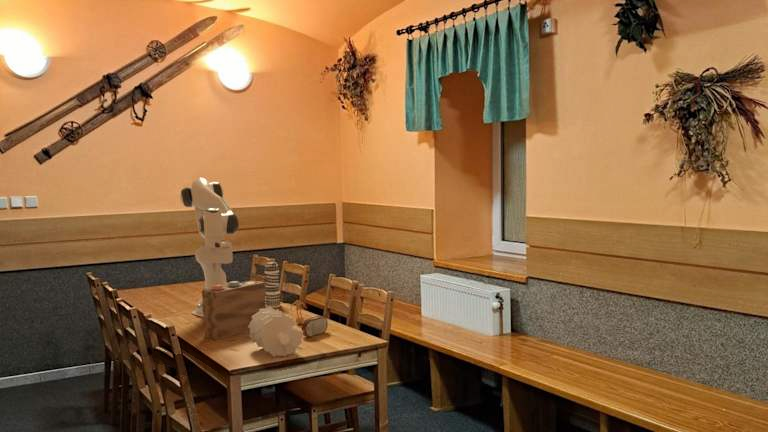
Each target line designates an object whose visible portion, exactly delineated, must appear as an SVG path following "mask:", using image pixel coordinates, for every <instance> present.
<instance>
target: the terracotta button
mask: <svg viewBox="0 0 768 432" xmlns="http://www.w3.org/2000/svg"><path fill="white" fill-rule="evenodd" d="M221 290H223V285H213V286H212V291H221Z"/></svg>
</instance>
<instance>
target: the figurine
mask: <svg viewBox="0 0 768 432" xmlns="http://www.w3.org/2000/svg"><path fill="white" fill-rule="evenodd" d="M301 304H302V305H303V306H304V307H305V309H307V308H308V307H307V306H306V304H305V303H304V302H301V301H300V300H299V299H297V300H296V301H294V302H293V303H292V304H291V306H290V311H292V309H293V306H294V305H296V306H295V311H296V315H297V317H296V318H295V323H296V324H298V325H302V324H303V322H304V321H305V318H304V317H303V316H302V311H303V310H302V306H300V305H301Z"/></svg>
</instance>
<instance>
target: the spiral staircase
mask: <svg viewBox="0 0 768 432" xmlns="http://www.w3.org/2000/svg"><path fill="white" fill-rule="evenodd" d="M251 317H252V321H251V322H250V324H249V326H248V328H250V331H249V338H251V340H252V343H253V344H254V343H256V345H257V347H258V348H263V350H264V352H265V353H266V352H267V353H269V354H270V355H271V356H273V357H274V358H275V357H277V356H279V357H284V358H285V357H287V355H290V354H292V353H295V352H297V348H299V346H300V345H301V344H302V343H303V341H302V339H303V336H304V335H303V331H302V330H300V329H298V328H295V326H296V325H297V323H296V321H295V320H294V318H293V316H290V315H289V314H285V313H283V312H282V310H279V308H276V309H275V308H271V307H268V308H266V309H259V312H258V313H256V314H254V315H253V316H251Z"/></svg>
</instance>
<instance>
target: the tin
mask: <svg viewBox="0 0 768 432" xmlns="http://www.w3.org/2000/svg"><path fill="white" fill-rule="evenodd" d="M327 329H328V320H327V318H326V316H325V317H324V316H322V315H316V316H313V317H309V318H307V319H304V322H303V323H302V324H301V331H303V335H302V336H304V337H307V338H312V337H315V336H319V335H322V334H324V333H326V331H327Z"/></svg>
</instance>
